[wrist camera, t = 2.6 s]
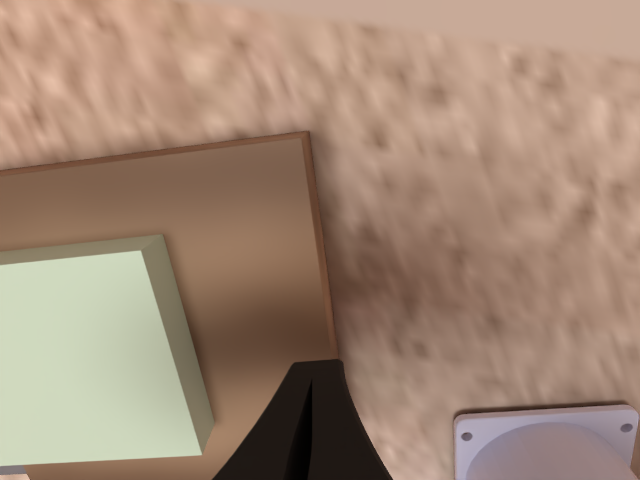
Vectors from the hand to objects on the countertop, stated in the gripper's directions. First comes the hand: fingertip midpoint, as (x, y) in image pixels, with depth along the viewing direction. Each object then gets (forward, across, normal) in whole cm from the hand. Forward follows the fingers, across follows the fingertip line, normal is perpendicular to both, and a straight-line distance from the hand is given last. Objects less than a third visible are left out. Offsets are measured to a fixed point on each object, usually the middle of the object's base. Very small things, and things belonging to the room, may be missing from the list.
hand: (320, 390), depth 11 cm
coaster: (+3, +9, 0) cm, 9 cm away
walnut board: (+6, +7, +1) cm, 9 cm away
